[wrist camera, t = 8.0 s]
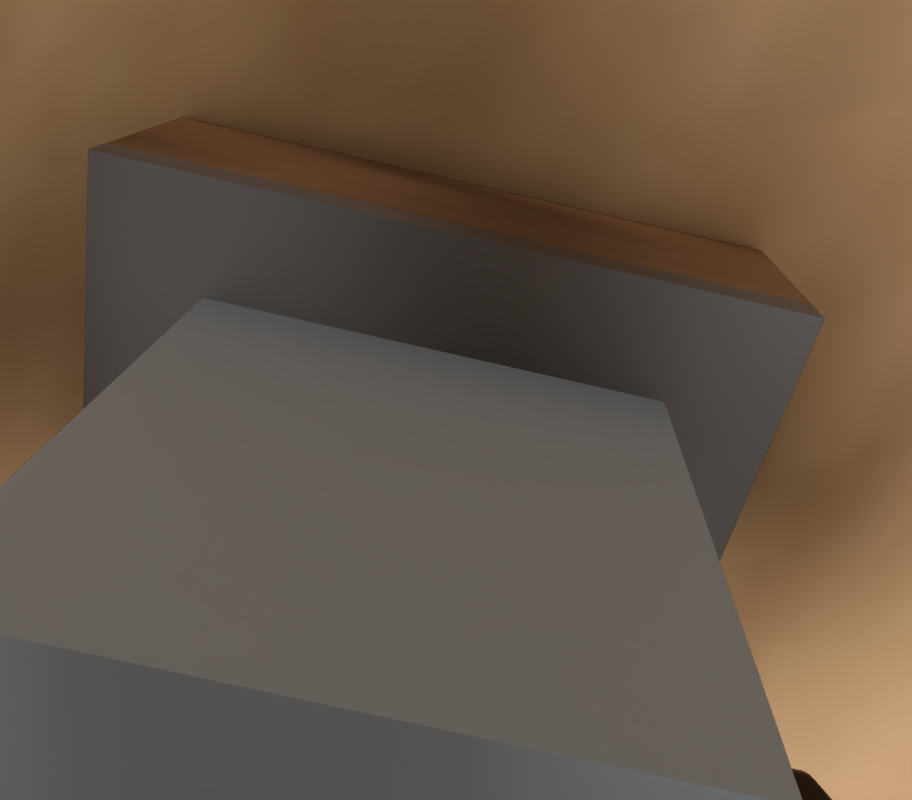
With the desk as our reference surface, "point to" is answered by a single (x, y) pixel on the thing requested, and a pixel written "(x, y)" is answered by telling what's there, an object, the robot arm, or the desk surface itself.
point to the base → (446, 282)
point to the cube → (367, 586)
